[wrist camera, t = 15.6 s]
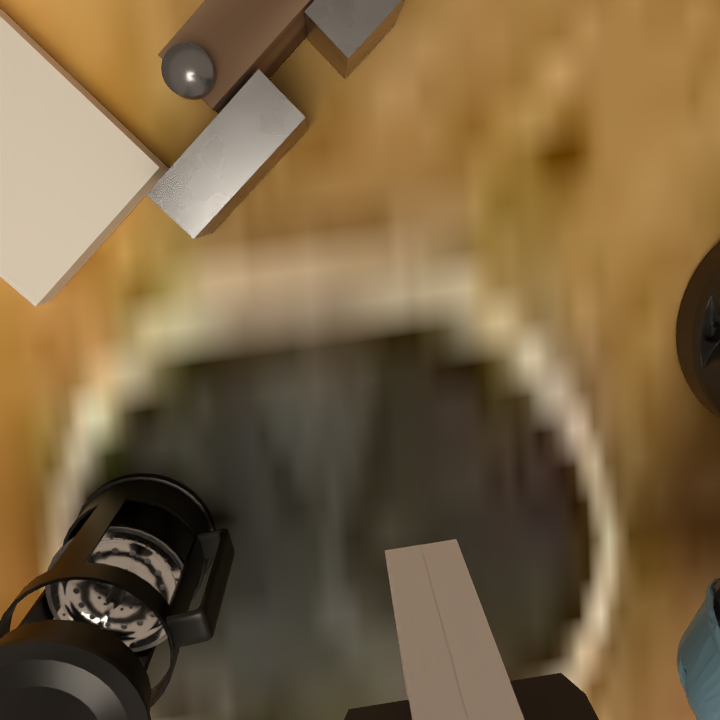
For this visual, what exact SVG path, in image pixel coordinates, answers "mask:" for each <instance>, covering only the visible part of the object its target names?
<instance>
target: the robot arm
mask: <svg viewBox="0 0 720 720" xmlns="http://www.w3.org/2000/svg"><path fill="white" fill-rule="evenodd" d="M677 350H678V356H679V361H680V365H681V369H682V371H683V374H684V377H685V379H686V381H687V383H688V385H689V386H690V388H691V390H692V391H693V393H694V394H695V396H696V397H697V398H698V399H699V400H700V402H701V403H702V404H703V405H704V406H705V407H706V408H707V409H709V410H710V411H711V412H712V413H714V414H715V415H717V416H718V417H720V242H719V243H718V244H717V245H716V246H715V247H714V248H713V250H712V251H711V252H710V253H709V254H708V255H707V257H706V258H705V259H704V260H703V262H702V263H701V265H700V266H699V268H698V269H697V271H696V272H695V274H694V276H693V278H692V279H691V281H690V283H689V286H688V288H687V290H686V293H685V295H684V298H683V301H682V304H681V308H680V312H679V317H678V324H677ZM385 555H386V562H387V568H388V575H389V581H390V588H391V594H392V601H393V608H394V614H395V621H396V627H397V634H398V640H399V647H400V653H401V660H402V666H403V672H404V678H405V685H406V691H407V697H408V700H404V701H398V702H391V703H385V704H379V705H373V706H367V707H360V708H354V709H349V710H348V712H347V715H346V717H345V719H344V720H599V719H598V717H597V715H596V713H595V711H594V710H593V708H592V706H591V704H590V702H589V700H588V698H587V696H586V694H585V693H584V692H582V691H581V690H580V689H579V688H578V687H577V686H575V685H574V684H573V683H572V682H571V681H570V680H569V679H567V678H566V677H565V676H564V675H563V674H562V673H558V674H552V675H545V676H539V677H533V678H527V679H521V680H514V681H510V680H509V678H508V675H507V672H506V670H505V667H504V664H503V662H502V659H501V657H500V654H499V651H498V649H497V646H496V643H495V641H494V638H493V635H492V633H491V630H490V627H489V625H488V622H487V619H486V617H485V614H484V612H483V609H482V606H481V604H480V601H479V598H478V596H477V593H476V590H475V588H474V585H473V582H472V580H471V577H470V574H469V572H468V569H467V567H466V564H465V561H464V559H463V556H462V553H461V551H460V548H459V545H458V543H457V540H456V539H455V540H449V541H442V542H436V543H430V544H423V545H417V546H411V547H404V548H398V549H392V550H386V551H385ZM677 667H678V672H679V675H680V681H681V684H682V686H683V688H684V690H685V692H686V697H687V699H688V703H689V705H690V707H691V709H692V711H693V713H694V714H695V716H696V718H697V720H720V579H714V580H713V581H712V582H711V583H710V585H709V586H708V588H707V591H706V598H705V601H704V602H703V604H702V605H701V607H700V609H699V610H698V612H697V614H696V615H695V617H694V618H693V620H692V622H691V623H690V625H689V626H688V628H687V630H686V631H685V633H684V634H683V636H682V638H681V640H680V643H679V647H678V653H677Z"/></svg>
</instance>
